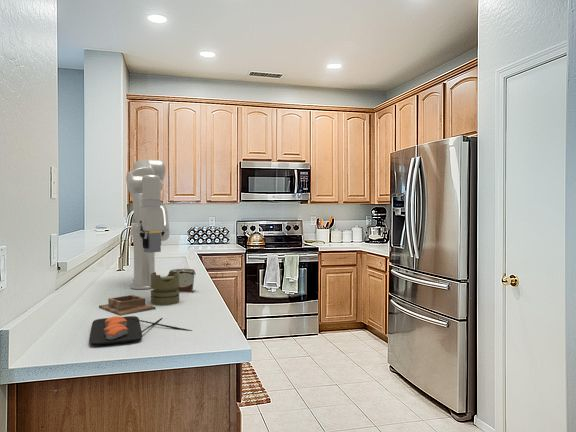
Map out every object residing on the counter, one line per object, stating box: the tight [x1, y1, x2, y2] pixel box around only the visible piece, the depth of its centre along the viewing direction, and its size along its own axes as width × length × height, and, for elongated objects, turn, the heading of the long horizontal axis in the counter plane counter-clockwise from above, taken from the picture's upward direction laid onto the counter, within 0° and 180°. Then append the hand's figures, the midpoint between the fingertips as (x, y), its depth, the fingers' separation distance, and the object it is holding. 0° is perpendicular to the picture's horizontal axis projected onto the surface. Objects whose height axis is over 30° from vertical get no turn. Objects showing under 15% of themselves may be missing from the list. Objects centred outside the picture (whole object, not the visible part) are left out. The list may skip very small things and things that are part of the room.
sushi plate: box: [88, 315, 193, 345], centre depth 145 cm, size 29×30×4 cm
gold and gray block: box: [144, 230, 162, 253], centre depth 190 cm, size 5×5×9 cm
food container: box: [169, 268, 196, 293], centre depth 210 cm, size 12×6×10 cm, turn 84°
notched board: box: [98, 294, 156, 316], centre depth 175 cm, size 18×14×4 cm
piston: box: [150, 270, 180, 306], centre depth 186 cm, size 11×12×11 cm
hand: (151, 247), depth 190 cm, fingers closed on gold and gray block, 5 cm apart
